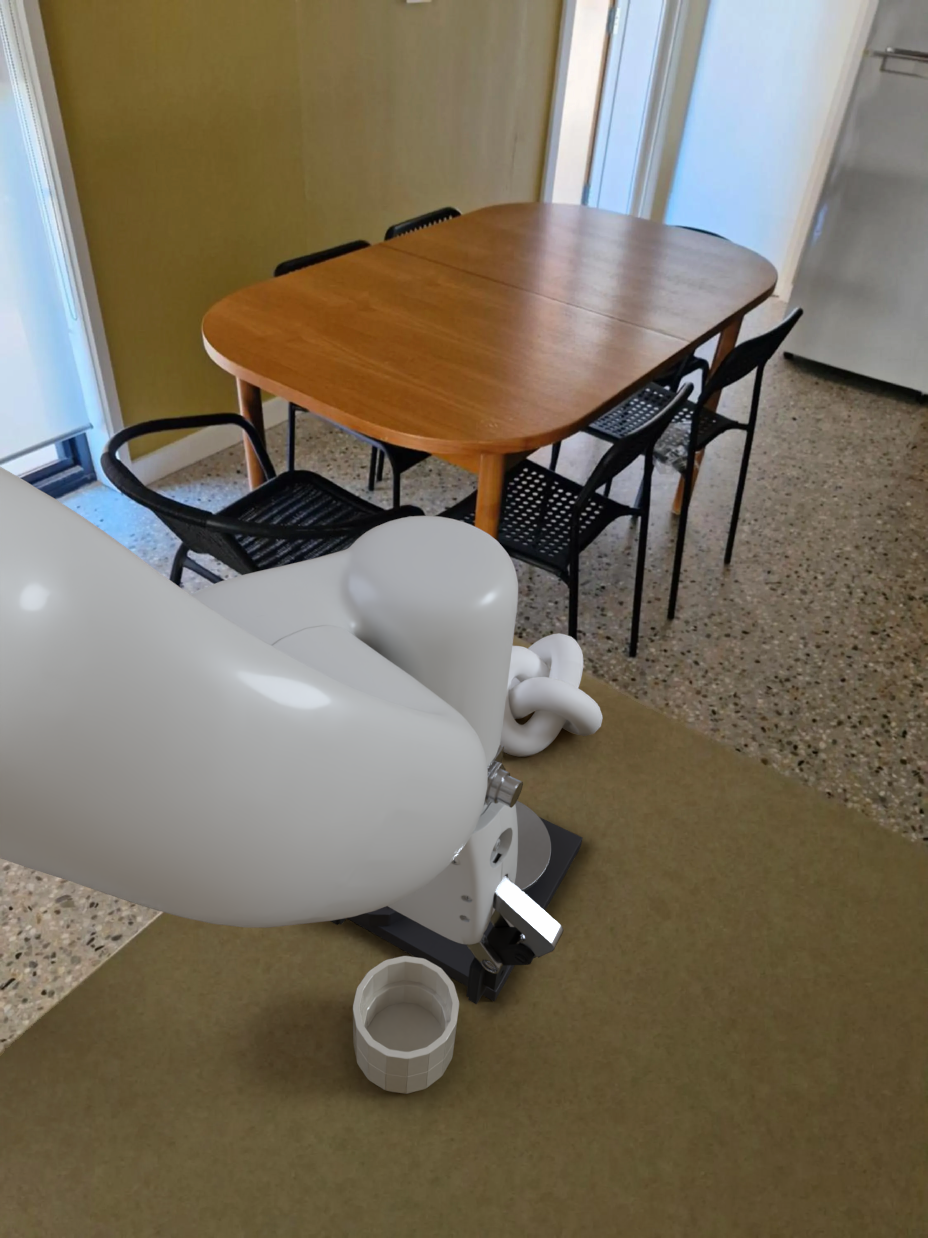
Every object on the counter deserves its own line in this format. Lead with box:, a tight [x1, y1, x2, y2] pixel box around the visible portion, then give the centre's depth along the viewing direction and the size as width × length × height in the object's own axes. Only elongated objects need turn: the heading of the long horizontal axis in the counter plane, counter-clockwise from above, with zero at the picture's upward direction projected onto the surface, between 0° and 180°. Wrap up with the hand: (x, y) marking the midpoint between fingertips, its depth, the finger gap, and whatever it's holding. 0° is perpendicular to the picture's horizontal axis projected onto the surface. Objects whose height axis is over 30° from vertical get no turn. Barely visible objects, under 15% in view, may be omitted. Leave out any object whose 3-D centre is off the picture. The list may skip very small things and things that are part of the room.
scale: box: [346, 816, 584, 1002], centre depth 72 cm, size 16×14×3 cm
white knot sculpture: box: [500, 632, 603, 758], centre depth 84 cm, size 11×12×9 cm
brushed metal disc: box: [514, 800, 551, 892], centre depth 72 cm, size 10×10×1 cm
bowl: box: [352, 955, 460, 1095], centre depth 60 cm, size 7×7×6 cm
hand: (414, 943), depth 54 cm, fingers open, 9 cm apart
